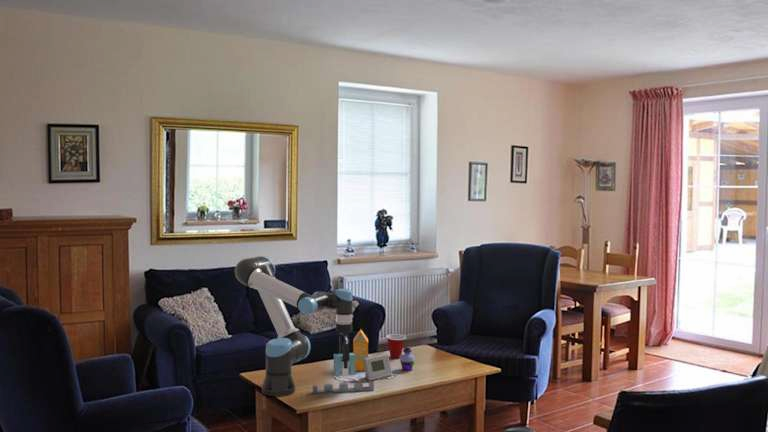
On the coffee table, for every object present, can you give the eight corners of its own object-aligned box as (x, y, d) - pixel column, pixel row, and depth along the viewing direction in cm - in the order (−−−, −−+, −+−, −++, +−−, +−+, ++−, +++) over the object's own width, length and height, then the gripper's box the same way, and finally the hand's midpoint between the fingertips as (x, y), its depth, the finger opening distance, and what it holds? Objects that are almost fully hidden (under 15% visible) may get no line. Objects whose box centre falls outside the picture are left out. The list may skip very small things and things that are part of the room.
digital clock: (367, 382, 326) (368, 360, 325) (358, 377, 334) (358, 356, 333) (396, 377, 334) (396, 356, 334) (386, 373, 342) (386, 352, 342)
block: (335, 376, 307) (335, 356, 306) (333, 373, 311) (333, 353, 311) (354, 374, 309) (354, 355, 309) (352, 372, 313) (352, 352, 313)
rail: (313, 394, 306) (313, 386, 305) (312, 392, 308) (312, 384, 308) (373, 390, 313) (373, 382, 312) (372, 388, 315) (372, 381, 315)
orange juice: (368, 366, 354) (368, 328, 353) (367, 371, 345) (368, 332, 344) (353, 366, 354) (353, 328, 353) (352, 370, 345) (353, 332, 344)
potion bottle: (412, 372, 343) (412, 349, 342) (396, 370, 346) (396, 347, 345) (417, 368, 351) (417, 345, 350) (402, 366, 354) (402, 344, 353)
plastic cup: (393, 361, 365) (393, 339, 365) (382, 356, 374) (382, 335, 374) (409, 358, 371) (409, 336, 371) (398, 354, 380) (398, 333, 380)
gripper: (356, 326, 301) (356, 378, 302) (348, 319, 318) (348, 368, 319) (339, 327, 300) (339, 379, 301) (332, 319, 317) (332, 369, 318)
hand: (344, 373), depth 310 cm, fingers closed on block, 4 cm apart
